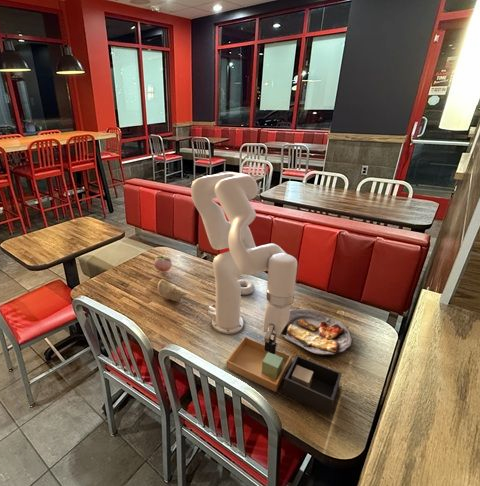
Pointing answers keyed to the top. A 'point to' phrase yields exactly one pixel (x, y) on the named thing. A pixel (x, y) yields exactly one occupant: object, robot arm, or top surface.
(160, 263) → the decorative fruit
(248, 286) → the donut
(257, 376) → the brown wooden tray
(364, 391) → the top surface
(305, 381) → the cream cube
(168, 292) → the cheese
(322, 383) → the black basket
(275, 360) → the sage cube
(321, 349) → the food plate
